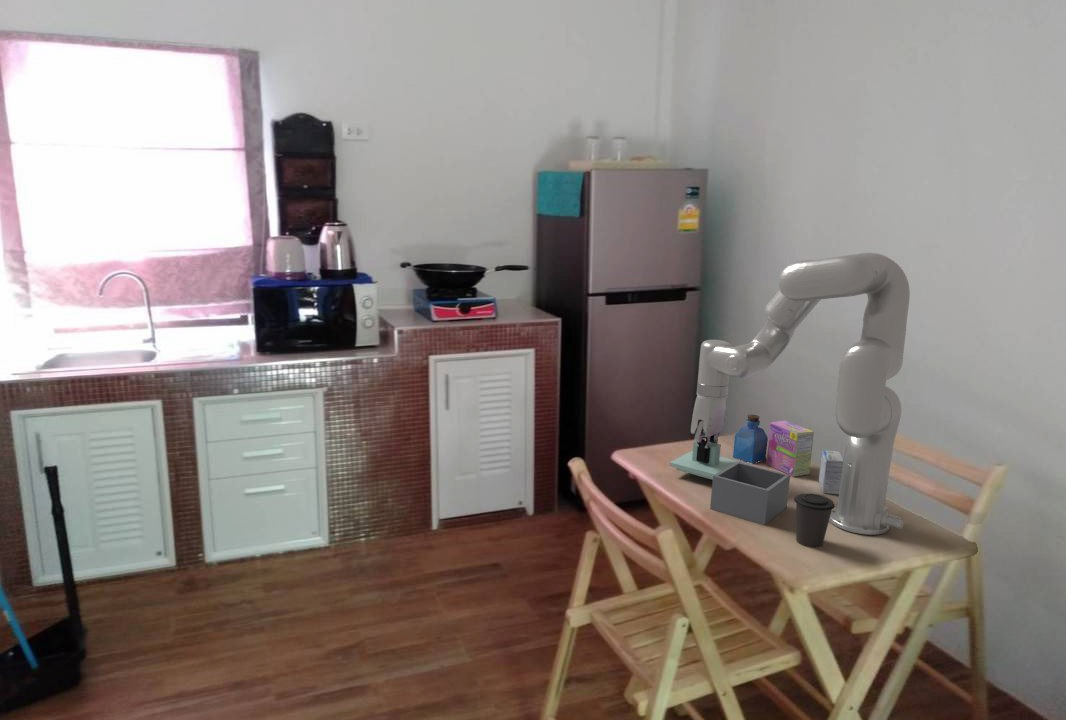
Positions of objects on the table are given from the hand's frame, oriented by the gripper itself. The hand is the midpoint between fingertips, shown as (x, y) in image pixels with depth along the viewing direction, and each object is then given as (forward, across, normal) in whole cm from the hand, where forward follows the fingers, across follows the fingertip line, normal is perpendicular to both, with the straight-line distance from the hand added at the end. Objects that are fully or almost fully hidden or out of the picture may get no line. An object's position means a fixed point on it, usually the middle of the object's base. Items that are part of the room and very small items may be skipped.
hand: (705, 459), depth 206 cm
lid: (+3, 0, 0) cm, 3 cm away
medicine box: (+5, -14, +27) cm, 31 cm away
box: (+5, -20, +14) cm, 25 cm away
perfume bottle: (+5, -21, +3) cm, 22 cm away
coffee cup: (+5, +20, +34) cm, 40 cm away
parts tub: (+4, +12, +17) cm, 21 cm away
